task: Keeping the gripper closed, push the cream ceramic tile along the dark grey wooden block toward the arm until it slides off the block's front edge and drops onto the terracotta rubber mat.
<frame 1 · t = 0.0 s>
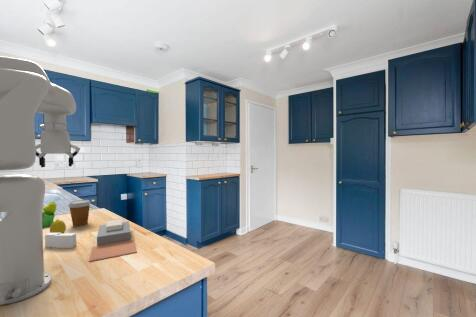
hand: (57, 166, 101), 31 cm above the counter, tool pointing down, fingers open, 9 cm apart
lemon: (58, 238, 100), on the counter
tile: (114, 227, 101), point 4 cm above the counter, touching grey block
grey block: (114, 237, 100), on the counter
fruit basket: (46, 224, 119), on the counter
mat: (114, 250, 87), on the counter
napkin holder: (61, 247, 92), on the counter
disposable coffee cup: (80, 224, 118), on the counter
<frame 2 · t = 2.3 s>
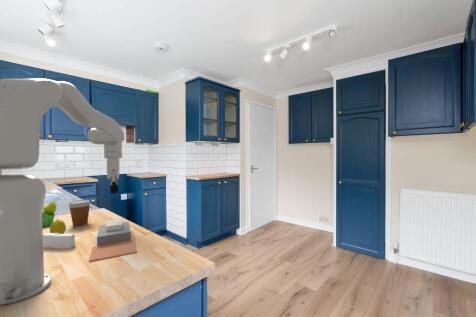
hand: (114, 192, 110), 18 cm above the counter, tool pointing down, fingers closed
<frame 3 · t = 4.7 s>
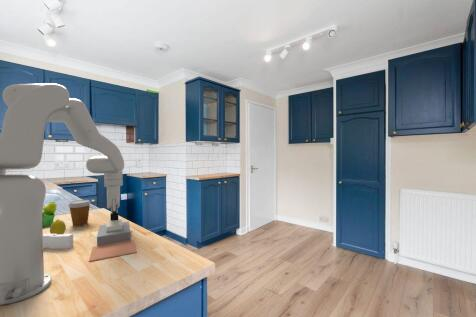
hand: (114, 221, 106), 5 cm above the counter, tool pointing down, fingers closed
tile: (114, 227, 101), point 4 cm above the counter, touching gripper
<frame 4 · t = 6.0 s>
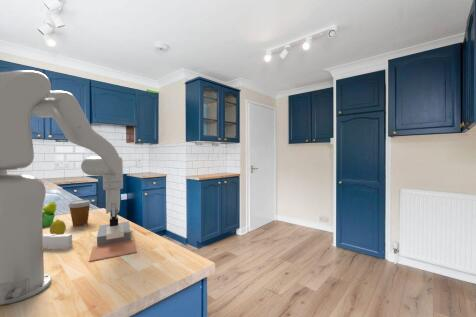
hand: (114, 227, 98), 5 cm above the counter, tool pointing down, fingers closed
tile: (115, 234, 93), point 4 cm above the counter, touching gripper
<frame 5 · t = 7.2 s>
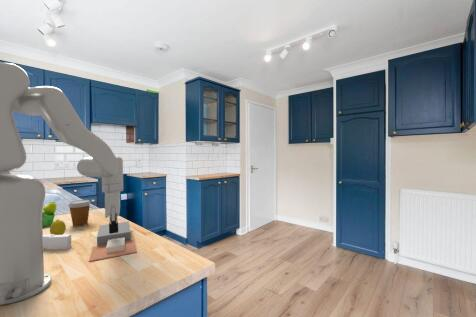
hand: (113, 232, 92), 5 cm above the counter, tool pointing down, fingers closed
tile: (116, 247, 89), resting on mat
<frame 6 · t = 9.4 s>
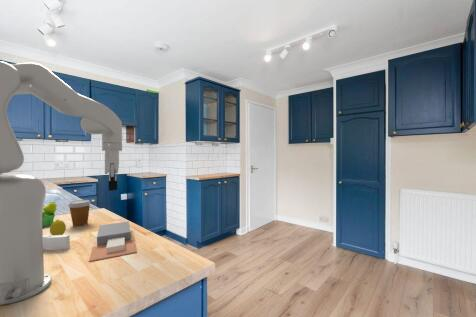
hand: (112, 190, 97), 21 cm above the counter, tool pointing down, fingers closed
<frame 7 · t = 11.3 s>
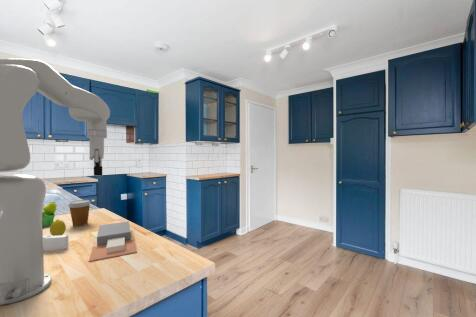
hand: (98, 175, 102), 27 cm above the counter, tool pointing down, fingers closed
at the end: tile inside the target area (1.7 cm from its centre), resting on mat; tile touching mat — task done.
